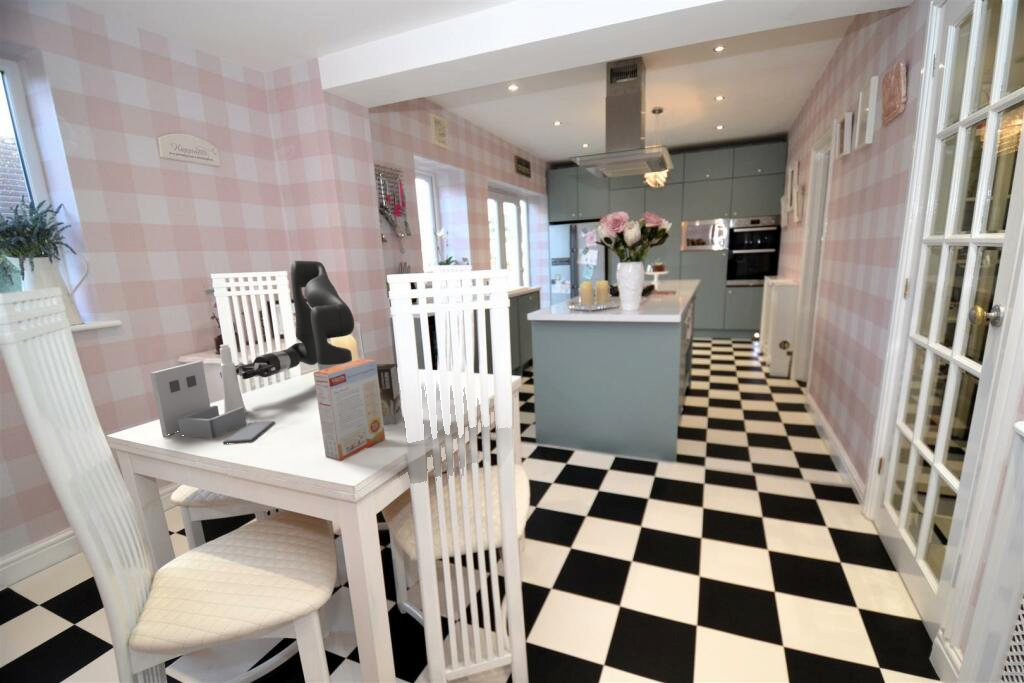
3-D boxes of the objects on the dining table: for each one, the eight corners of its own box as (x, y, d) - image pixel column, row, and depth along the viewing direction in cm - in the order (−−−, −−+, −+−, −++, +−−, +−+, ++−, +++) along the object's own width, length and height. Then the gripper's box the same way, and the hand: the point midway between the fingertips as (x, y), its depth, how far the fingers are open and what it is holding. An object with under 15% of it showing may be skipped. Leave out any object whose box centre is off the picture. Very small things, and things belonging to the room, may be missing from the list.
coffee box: (403, 416, 131) (398, 363, 128) (397, 424, 125) (391, 368, 122) (372, 417, 131) (366, 364, 128) (364, 425, 125) (358, 369, 122)
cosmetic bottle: (249, 409, 144) (239, 342, 140) (241, 415, 138) (230, 345, 134) (229, 411, 144) (218, 343, 140) (220, 417, 138) (208, 347, 134)
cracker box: (369, 435, 118) (361, 357, 114) (386, 439, 114) (378, 359, 111) (323, 457, 106) (312, 370, 102) (340, 461, 103) (329, 373, 99)
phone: (275, 424, 131) (274, 420, 131) (252, 444, 117) (251, 439, 117) (250, 426, 130) (249, 422, 130) (223, 446, 117) (223, 441, 116)
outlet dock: (252, 421, 133) (242, 361, 130) (209, 439, 120) (197, 374, 117) (208, 418, 138) (198, 360, 134) (162, 435, 124) (150, 372, 121)
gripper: (254, 352, 156) (212, 363, 141) (288, 353, 152) (248, 364, 137) (257, 373, 158) (216, 386, 142) (291, 374, 154) (252, 388, 138)
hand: (232, 375), depth 140 cm, fingers open, 8 cm apart
